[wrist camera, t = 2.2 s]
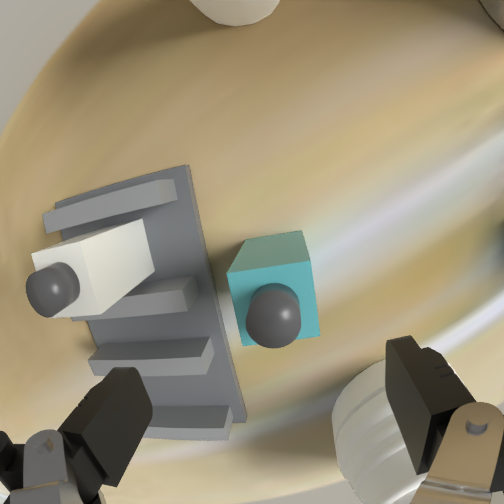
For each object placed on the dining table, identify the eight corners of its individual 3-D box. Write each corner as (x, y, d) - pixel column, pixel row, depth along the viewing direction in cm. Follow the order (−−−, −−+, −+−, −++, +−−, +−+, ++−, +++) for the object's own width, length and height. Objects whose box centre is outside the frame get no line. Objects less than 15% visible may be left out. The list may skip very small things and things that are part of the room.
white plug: (142, 218, 23) (56, 250, 13) (154, 271, 23) (81, 330, 14) (98, 228, 23) (8, 262, 13) (111, 277, 24) (31, 332, 14)
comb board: (189, 165, 22) (170, 164, 18) (247, 415, 27) (241, 445, 23) (61, 201, 24) (31, 207, 20) (133, 415, 29) (118, 440, 25)
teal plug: (301, 230, 23) (314, 273, 13) (309, 283, 24) (323, 356, 14) (246, 239, 23) (218, 287, 14) (256, 292, 24) (237, 367, 14)
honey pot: (438, 440, 26) (488, 566, 9) (326, 457, 28) (335, 609, 10) (469, 342, 23) (577, 478, 6) (335, 359, 25) (374, 565, 7)
